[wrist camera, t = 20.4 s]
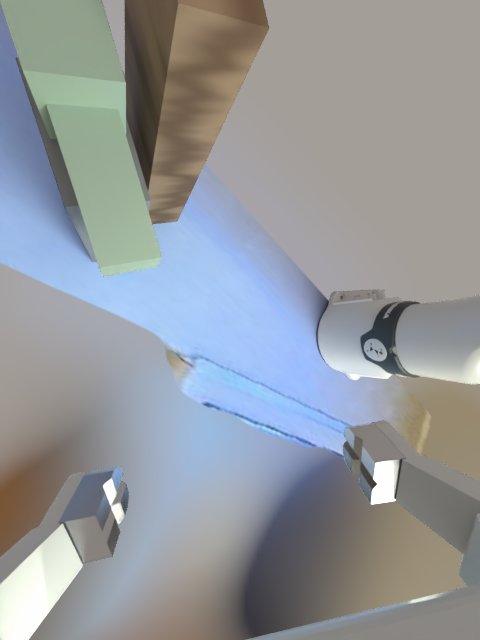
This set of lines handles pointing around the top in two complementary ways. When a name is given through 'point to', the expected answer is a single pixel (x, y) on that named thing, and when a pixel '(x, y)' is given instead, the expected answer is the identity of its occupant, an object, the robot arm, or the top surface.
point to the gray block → (63, 175)
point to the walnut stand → (184, 86)
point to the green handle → (87, 122)
